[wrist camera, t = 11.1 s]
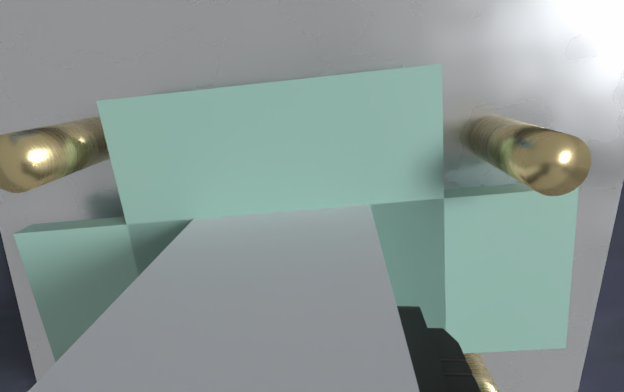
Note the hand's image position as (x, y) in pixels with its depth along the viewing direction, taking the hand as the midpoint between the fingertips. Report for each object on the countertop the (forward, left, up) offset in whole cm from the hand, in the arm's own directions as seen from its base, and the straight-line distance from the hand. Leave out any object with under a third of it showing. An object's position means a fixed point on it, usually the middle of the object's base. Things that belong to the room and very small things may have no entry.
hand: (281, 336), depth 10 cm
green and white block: (0, 0, -3) cm, 3 cm away
